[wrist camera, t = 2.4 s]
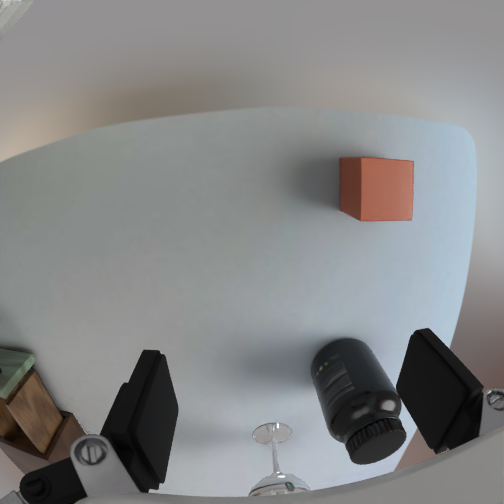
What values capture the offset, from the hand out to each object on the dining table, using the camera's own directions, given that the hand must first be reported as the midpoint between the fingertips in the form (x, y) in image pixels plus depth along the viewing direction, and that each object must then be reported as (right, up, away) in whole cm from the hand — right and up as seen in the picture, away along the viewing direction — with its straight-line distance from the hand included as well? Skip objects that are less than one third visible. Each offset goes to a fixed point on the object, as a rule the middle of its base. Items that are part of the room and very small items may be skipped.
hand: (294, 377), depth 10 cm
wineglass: (+1, -18, +22) cm, 29 cm away
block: (+8, +10, +13) cm, 19 cm away
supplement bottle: (+8, -7, +19) cm, 22 cm away
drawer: (-34, -13, +18) cm, 40 cm away
